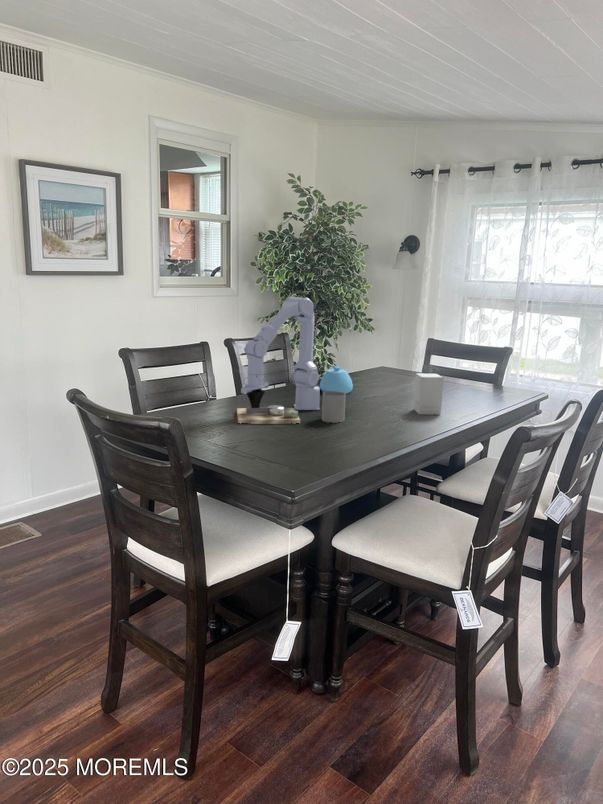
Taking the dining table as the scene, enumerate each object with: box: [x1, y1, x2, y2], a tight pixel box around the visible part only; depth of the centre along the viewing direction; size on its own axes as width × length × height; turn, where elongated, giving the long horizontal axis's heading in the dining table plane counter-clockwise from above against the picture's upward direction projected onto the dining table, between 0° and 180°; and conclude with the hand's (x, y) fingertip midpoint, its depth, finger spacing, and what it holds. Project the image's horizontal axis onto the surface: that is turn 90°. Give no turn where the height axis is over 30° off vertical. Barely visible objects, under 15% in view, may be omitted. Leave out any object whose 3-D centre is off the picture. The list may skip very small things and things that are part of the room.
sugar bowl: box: [319, 366, 354, 395], centre depth 271 cm, size 15×15×12 cm
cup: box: [321, 391, 347, 424], centre depth 220 cm, size 8×8×10 cm
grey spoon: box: [245, 404, 285, 415], centre depth 220 cm, size 14×6×2 cm, turn 103°
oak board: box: [236, 407, 301, 425], centre depth 222 cm, size 22×18×4 cm
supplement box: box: [413, 372, 445, 416], centre depth 236 cm, size 9×9×15 cm
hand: (255, 409), depth 222 cm, fingers closed
